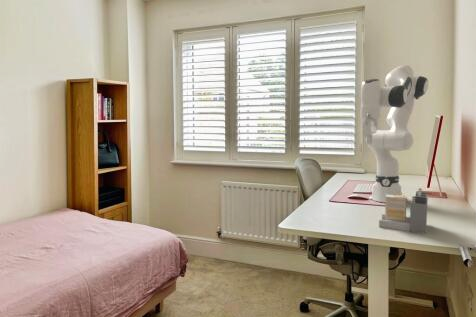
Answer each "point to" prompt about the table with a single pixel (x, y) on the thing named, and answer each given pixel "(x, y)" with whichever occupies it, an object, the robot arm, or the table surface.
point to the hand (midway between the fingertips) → (369, 144)
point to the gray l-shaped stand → (411, 215)
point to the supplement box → (395, 208)
